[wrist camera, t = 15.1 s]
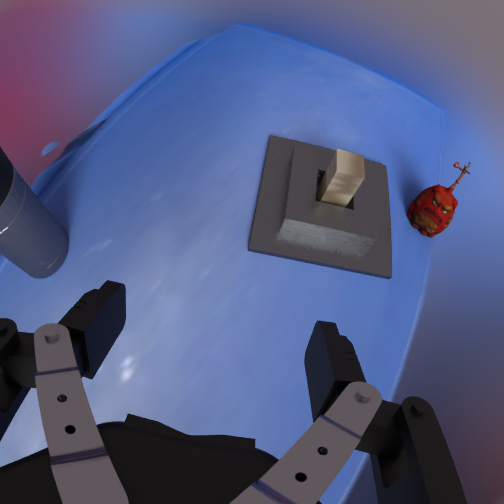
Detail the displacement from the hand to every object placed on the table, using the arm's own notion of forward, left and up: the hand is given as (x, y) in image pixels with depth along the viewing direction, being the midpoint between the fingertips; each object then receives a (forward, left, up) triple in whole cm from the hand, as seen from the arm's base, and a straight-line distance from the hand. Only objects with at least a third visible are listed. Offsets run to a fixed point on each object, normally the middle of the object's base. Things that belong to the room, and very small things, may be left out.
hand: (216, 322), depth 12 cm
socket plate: (+5, +29, -28) cm, 40 cm away
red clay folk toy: (+22, +35, -28) cm, 51 cm away
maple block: (+5, +29, -27) cm, 40 cm away
